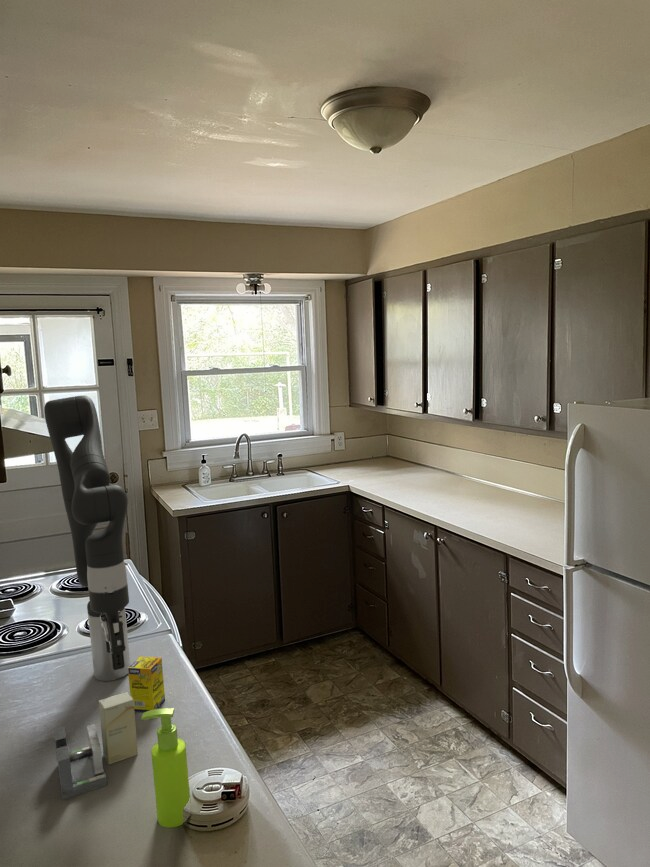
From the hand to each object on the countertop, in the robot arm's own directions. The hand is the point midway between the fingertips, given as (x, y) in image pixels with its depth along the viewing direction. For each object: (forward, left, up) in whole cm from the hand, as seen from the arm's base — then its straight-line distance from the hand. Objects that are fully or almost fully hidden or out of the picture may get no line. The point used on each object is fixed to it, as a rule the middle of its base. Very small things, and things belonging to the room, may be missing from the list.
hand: (115, 659), depth 132 cm
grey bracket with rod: (+3, -9, -20) cm, 23 cm away
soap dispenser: (+24, +4, -21) cm, 32 cm away
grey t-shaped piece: (+3, -9, -19) cm, 22 cm away
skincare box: (0, -1, -21) cm, 21 cm away
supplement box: (-16, +8, -21) cm, 27 cm away
